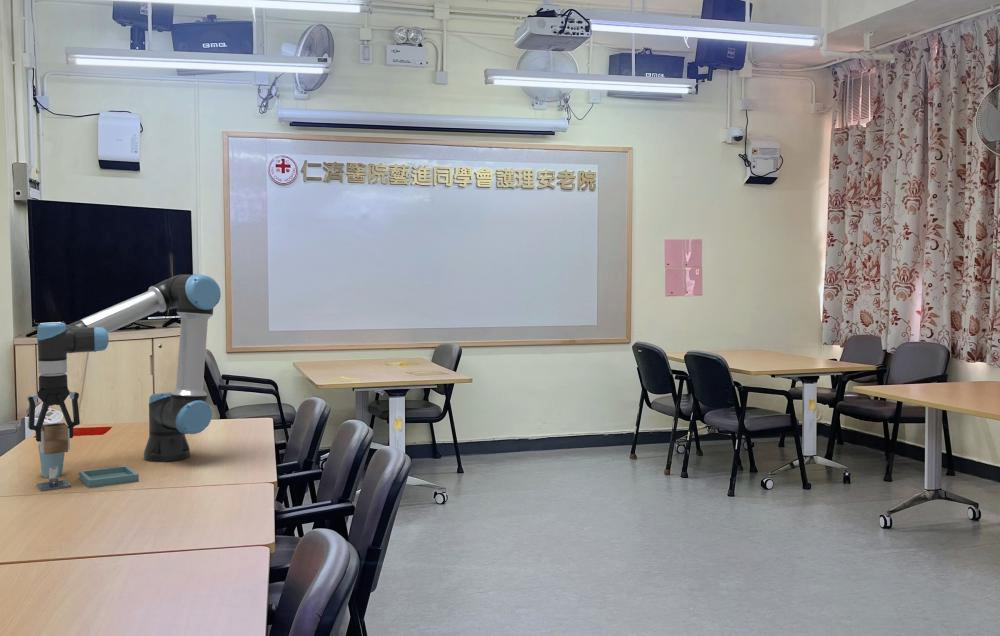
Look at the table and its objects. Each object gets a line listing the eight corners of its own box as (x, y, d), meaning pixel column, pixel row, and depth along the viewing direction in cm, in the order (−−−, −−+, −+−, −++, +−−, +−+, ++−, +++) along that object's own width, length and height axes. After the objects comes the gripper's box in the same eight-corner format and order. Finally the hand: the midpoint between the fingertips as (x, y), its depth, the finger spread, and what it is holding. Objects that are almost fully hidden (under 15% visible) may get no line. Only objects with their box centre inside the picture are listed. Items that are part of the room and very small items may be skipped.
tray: (127, 472, 260) (127, 465, 260) (138, 481, 249) (138, 474, 249) (79, 478, 251) (79, 471, 251) (88, 488, 240) (88, 480, 240)
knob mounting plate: (66, 481, 247) (66, 463, 247) (71, 487, 241) (71, 468, 241) (36, 485, 242) (36, 466, 242) (40, 491, 236) (40, 471, 236)
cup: (65, 477, 253) (64, 444, 252) (37, 479, 250) (36, 446, 249) (67, 472, 260) (66, 440, 259) (39, 474, 256) (39, 441, 256)
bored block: (64, 448, 246) (63, 422, 245) (68, 451, 241) (67, 425, 241) (42, 450, 242) (41, 424, 242) (45, 454, 237) (44, 427, 237)
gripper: (85, 370, 249) (87, 444, 250) (14, 375, 237) (16, 452, 239) (90, 373, 243) (92, 448, 244) (18, 378, 231) (20, 457, 233)
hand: (55, 450), depth 242 cm, fingers closed on bored block, 6 cm apart
